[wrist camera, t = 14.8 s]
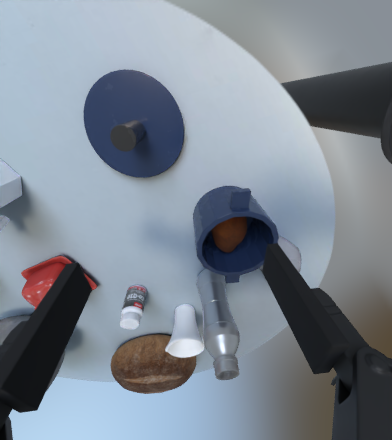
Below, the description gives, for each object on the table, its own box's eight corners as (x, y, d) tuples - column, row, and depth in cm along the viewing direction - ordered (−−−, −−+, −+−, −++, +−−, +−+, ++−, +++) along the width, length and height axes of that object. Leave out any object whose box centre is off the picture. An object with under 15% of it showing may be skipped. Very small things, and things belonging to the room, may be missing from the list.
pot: (263, 169, 33) (291, 190, 25) (250, 248, 42) (267, 283, 34) (191, 173, 32) (195, 196, 24) (194, 252, 42) (198, 288, 33)
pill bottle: (148, 285, 46) (142, 318, 39) (146, 297, 48) (140, 330, 41) (128, 283, 45) (118, 317, 38) (126, 295, 47) (117, 329, 40)
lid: (180, 69, 25) (180, 56, 18) (186, 172, 32) (188, 192, 25) (71, 72, 24) (27, 60, 17) (103, 177, 31) (81, 198, 24)
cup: (167, 300, 50) (164, 341, 41) (202, 300, 51) (206, 340, 42) (167, 320, 54) (165, 360, 46) (199, 319, 55) (202, 358, 47)
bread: (110, 331, 55) (97, 372, 47) (199, 330, 59) (203, 368, 50) (118, 369, 69) (110, 406, 60) (191, 367, 72) (192, 401, 64)
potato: (201, 233, 38) (204, 255, 33) (214, 192, 34) (221, 209, 28) (233, 238, 40) (241, 260, 34) (250, 199, 35) (263, 217, 29)
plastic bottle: (190, 276, 45) (196, 379, 28) (209, 259, 43) (229, 361, 26) (209, 286, 48) (225, 386, 31) (228, 271, 45) (257, 371, 29)
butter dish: (65, 249, 38) (39, 283, 31) (101, 283, 44) (86, 318, 37) (21, 268, 40) (-13, 304, 33) (62, 298, 46) (40, 334, 39)
